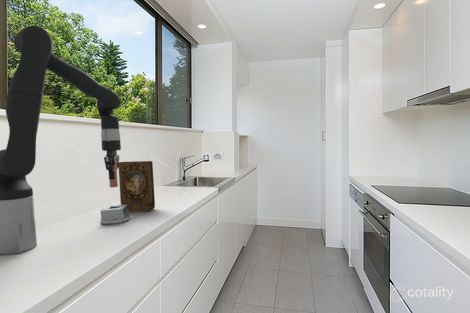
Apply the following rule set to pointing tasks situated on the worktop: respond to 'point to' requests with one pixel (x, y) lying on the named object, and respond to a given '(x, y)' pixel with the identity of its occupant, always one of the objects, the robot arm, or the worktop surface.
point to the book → (137, 185)
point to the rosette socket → (115, 214)
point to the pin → (114, 181)
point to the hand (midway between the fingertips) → (113, 178)
